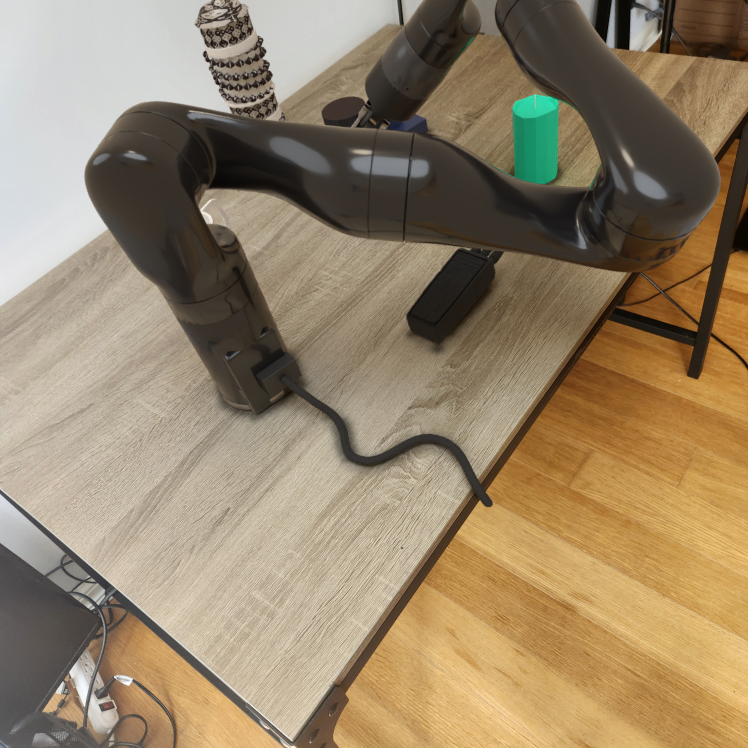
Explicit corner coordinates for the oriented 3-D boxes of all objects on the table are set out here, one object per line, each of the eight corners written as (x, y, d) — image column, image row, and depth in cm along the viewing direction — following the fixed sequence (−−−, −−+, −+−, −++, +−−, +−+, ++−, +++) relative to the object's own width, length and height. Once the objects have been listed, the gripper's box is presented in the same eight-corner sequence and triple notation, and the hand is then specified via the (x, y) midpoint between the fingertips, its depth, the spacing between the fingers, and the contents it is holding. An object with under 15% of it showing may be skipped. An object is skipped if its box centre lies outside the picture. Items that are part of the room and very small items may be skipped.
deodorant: (343, 199, 98) (316, 106, 87) (379, 186, 98) (358, 91, 87) (353, 220, 94) (327, 125, 83) (391, 206, 94) (370, 109, 83)
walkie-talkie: (393, 317, 77) (486, 210, 84) (428, 352, 78) (518, 244, 85) (414, 306, 72) (512, 192, 78) (452, 344, 73) (546, 229, 79)
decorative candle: (292, 172, 107) (238, 13, 88) (240, 177, 109) (177, 22, 90) (304, 142, 112) (256, -14, 93) (254, 147, 114) (198, -5, 96)
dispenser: (428, 130, 107) (424, 108, 104) (381, 159, 104) (376, 137, 101) (386, 112, 113) (382, 90, 110) (342, 139, 110) (336, 117, 107)
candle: (565, 175, 92) (568, 94, 83) (528, 191, 91) (526, 111, 82) (543, 156, 96) (543, 77, 87) (507, 171, 95) (503, 93, 86)
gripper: (413, 125, 75) (345, 204, 88) (450, 63, 83) (383, 145, 96) (362, 81, 73) (301, 169, 86) (405, 22, 81) (342, 111, 94)
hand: (344, 156), depth 91 cm, fingers closed on deodorant, 6 cm apart
